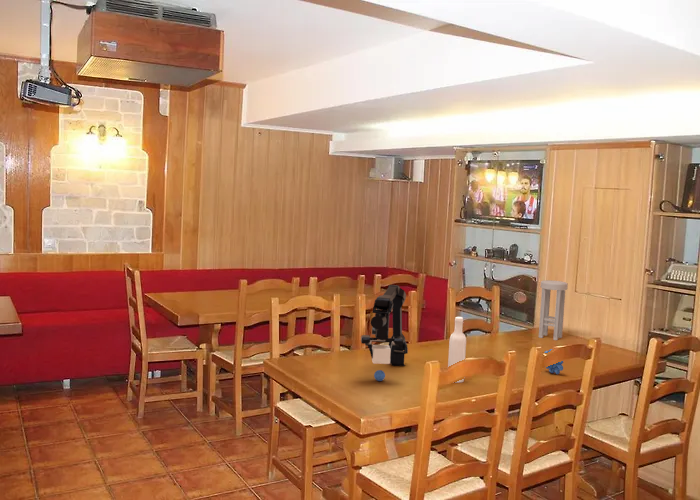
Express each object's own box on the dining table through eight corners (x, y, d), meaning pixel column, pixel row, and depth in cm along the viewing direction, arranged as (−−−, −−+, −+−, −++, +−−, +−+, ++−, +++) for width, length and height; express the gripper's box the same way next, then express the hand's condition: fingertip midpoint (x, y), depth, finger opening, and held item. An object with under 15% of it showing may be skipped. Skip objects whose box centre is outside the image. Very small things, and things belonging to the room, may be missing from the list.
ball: (385, 378, 303) (384, 383, 307) (385, 368, 306) (384, 373, 310) (374, 378, 303) (373, 382, 307) (374, 367, 306) (373, 372, 310)
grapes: (537, 371, 334) (538, 348, 333) (544, 369, 339) (546, 346, 338) (557, 377, 326) (559, 353, 325) (565, 375, 330) (566, 351, 329)
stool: (559, 341, 407) (563, 284, 404) (534, 337, 415) (538, 281, 412) (566, 337, 420) (570, 282, 417) (541, 333, 428) (545, 279, 425)
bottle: (465, 379, 315) (469, 316, 313) (462, 383, 308) (466, 319, 305) (448, 377, 318) (452, 315, 315) (445, 381, 311) (449, 317, 308)
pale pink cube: (388, 359, 308) (389, 345, 308) (389, 363, 301) (390, 349, 300) (371, 359, 308) (372, 344, 308) (372, 363, 300) (373, 348, 300)
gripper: (401, 322, 311) (399, 354, 312) (361, 320, 311) (359, 353, 312) (403, 327, 300) (402, 361, 301) (362, 325, 299) (360, 359, 301)
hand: (380, 358), depth 304 cm, fingers closed on pale pink cube, 8 cm apart
